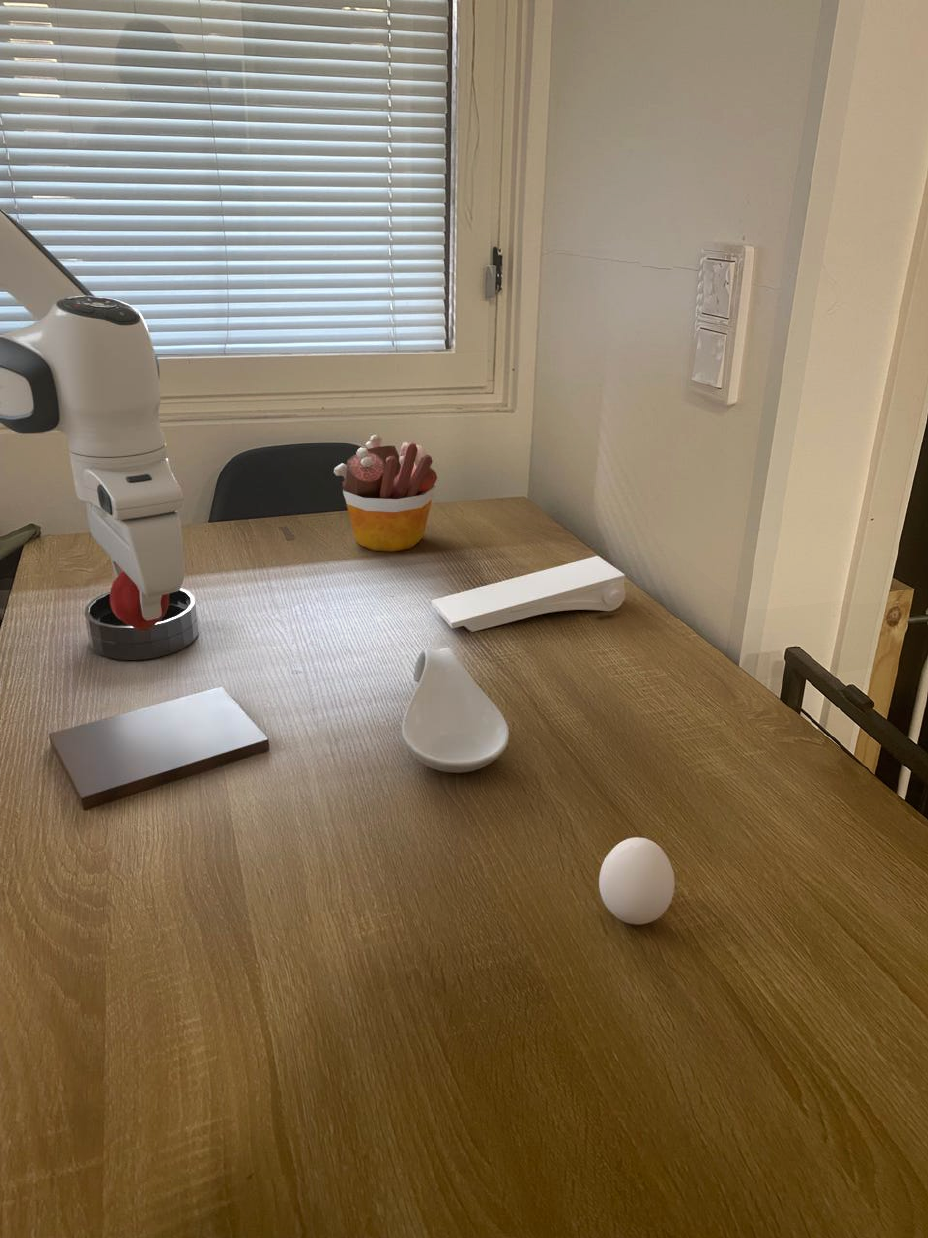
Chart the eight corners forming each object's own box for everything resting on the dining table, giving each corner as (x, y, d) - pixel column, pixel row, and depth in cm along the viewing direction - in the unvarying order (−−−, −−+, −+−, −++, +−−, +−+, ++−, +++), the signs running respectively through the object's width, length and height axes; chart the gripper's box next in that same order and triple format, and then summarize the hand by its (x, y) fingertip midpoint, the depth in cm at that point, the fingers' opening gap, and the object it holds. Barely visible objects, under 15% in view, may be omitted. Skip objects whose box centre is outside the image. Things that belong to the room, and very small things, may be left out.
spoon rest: (519, 783, 97) (522, 726, 94) (410, 794, 95) (410, 736, 92) (473, 677, 118) (475, 627, 115) (383, 684, 116) (382, 633, 113)
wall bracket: (456, 667, 132) (625, 618, 140) (455, 630, 127) (630, 581, 135) (431, 625, 138) (593, 580, 146) (430, 588, 134) (597, 543, 142)
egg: (670, 947, 76) (682, 874, 73) (593, 936, 77) (602, 863, 74) (668, 895, 82) (679, 825, 79) (597, 885, 83) (605, 815, 80)
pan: (107, 671, 117) (101, 637, 115) (78, 630, 127) (72, 597, 125) (213, 645, 124) (210, 612, 122) (178, 608, 135) (174, 577, 133)
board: (83, 810, 91) (81, 798, 90) (50, 745, 101) (48, 733, 101) (269, 750, 102) (268, 739, 101) (222, 696, 112) (221, 686, 111)
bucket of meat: (326, 531, 166) (321, 422, 158) (407, 519, 174) (407, 415, 165) (368, 568, 150) (366, 450, 142) (456, 553, 158) (459, 440, 149)
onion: (127, 617, 98) (117, 548, 95) (180, 619, 98) (171, 550, 95) (106, 641, 93) (94, 569, 90) (162, 643, 93) (152, 571, 89)
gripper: (61, 454, 94) (82, 577, 100) (119, 508, 79) (139, 649, 85) (123, 446, 98) (140, 566, 104) (190, 497, 83) (204, 633, 88)
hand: (140, 604), depth 94 cm, fingers closed on onion, 6 cm apart
